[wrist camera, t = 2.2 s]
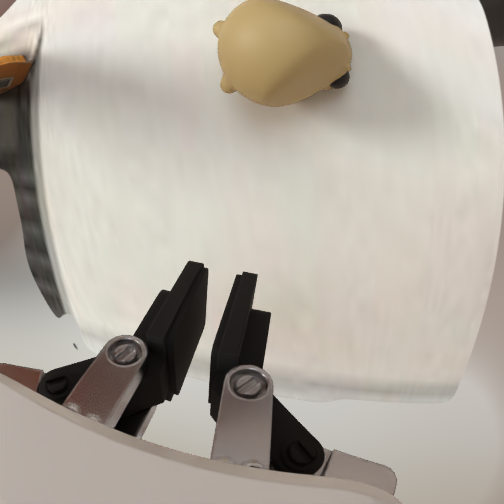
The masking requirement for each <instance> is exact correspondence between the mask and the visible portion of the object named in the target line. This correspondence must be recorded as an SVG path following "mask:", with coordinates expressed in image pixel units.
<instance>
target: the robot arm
mask: <svg viewBox="0 0 504 504" xmlns="http://www.w3.org/2000/svg"><path fill="white" fill-rule="evenodd" d="M257 276H258V274H253V273H248V272H243V274H242V275H238V274H237V275H236V278H235V281H234V284H233V287H232V290H231V293H230V296H229V299H228V302H227V305H226V308H225V311H224V314H223V317H222V320H221V323H220V326H219V328H218V331H217V334H216V337H215V340H214V344H213V348H212V353H211V364H210V381H209V399H208V402H209V403H211V408H210V415H211V416H212V418H213V419H214V421H215V422H216V429H215V435H214V440H213V446H212V452H211V458H210V459H208V458H203V457H200V456H196V455H192V454H188V453H184V452H181V451H177V450H173V449H170V448H167V447H163V446H160V445H157V444H154V443H151V442H148V441H145V440H142V439H141V438H142V436H143V434H144V432H145V430H146V428H147V426H148V424H149V422H150V420H151V418H152V416H153V414H154V412H155V410H156V407H157V405H158V404H160V403H163V402H164V401H165V400H168V401H171V400H172V397H173V395H174V394H176V395H178V394H179V393H180V390H181V387H182V385H183V382H184V379H185V377H186V374H187V372H188V369H189V366H190V364H191V361H192V358H193V356H194V353H195V350H196V348H197V345H198V343H199V340H200V337H201V335H202V332H203V330H204V326H205V320H206V302H207V285H208V268H204V264H203V263H198V262H193V261H188V263H187V264H186V266H185V268H184V269H183V271H182V273H181V274H180V276H179V278H178V279H177V281H176V283H175V284H174V286H173V288H172V290H171V291H166V290H161V292H160V293H159V294H158V296H157V297H156V299H155V301H154V302H153V304H152V306H151V307H150V309H149V310H148V312H147V314H146V315H145V317H144V319H143V320H142V322H141V324H140V325H139V327H138V329H137V330H136V332H135V334H134V335H133V336H131V335H121V336H117V337H114V338H113V339H111V340H110V341H108V342H107V343H106V345H105V346H104V347H103V349H102V350H101V351H100V353H99V354H98V355H97V357H94V358H91V359H88V360H84V361H81V362H77V363H74V364H71V365H68V366H64V367H60V368H57V369H54V370H51V371H49V372H48V373H44V371H43V370H39V369H33V368H27V367H22V366H15V365H11V364H6V363H0V504H402V503H401V502H400V501H399V500H398V499H397V498H396V497H394V493H395V489H396V485H397V478H396V476H395V473H394V472H393V471H392V470H391V468H389V467H387V466H385V465H382V464H378V463H375V462H372V461H368V460H365V459H362V458H358V457H356V456H352V455H349V454H346V453H343V452H341V451H338V450H335V449H334V450H333V451H330V450H327V449H324V448H323V447H322V446H321V444H320V443H319V441H318V440H317V439H315V437H313V436H312V435H311V434H310V433H309V432H308V431H307V429H306V428H305V427H304V426H302V424H301V423H300V422H298V421H297V419H296V418H295V417H294V416H293V415H292V414H291V413H290V412H289V411H288V410H287V409H286V408H285V407H284V406H283V405H282V404H281V403H280V402H279V401H278V399H277V398H276V397H275V396H274V395H273V381H272V379H271V377H270V375H269V374H268V373H267V372H266V371H265V370H263V362H264V356H265V350H266V344H267V337H268V331H269V324H270V318H271V313H270V312H265V311H260V310H255V309H252V304H253V299H254V293H255V287H256V282H257Z"/></svg>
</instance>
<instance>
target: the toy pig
mask: <svg viewBox="0 0 504 504" xmlns="http://www.w3.org/2000/svg"><path fill="white" fill-rule="evenodd" d="M213 32H214V34H215V35H216V37H217V38H218V57H219V61H220V65H221V68H222V70H223V73H224V74H223V77H222V79H221V83H220V86H221V89H222V90H223V91H224V92H225V93H233V92H235V91H238V92H239V93H240V94H241V95H243V96H244V97H246V98H247V99H249V100H251V101H253V102H256V103H258V104H261V105H265V106H270V107H280V106H286V105H290V104H293V103H296V102H299V101H301V100H304V99H306V98H308V97H310V96H311V95H313V94H315V93H317V92H318V91H320V90H321V89H323V90H329V89H332V88H342V87H344V86H345V85H346V84H347V83H348V81H349V71H350V70H351V67H350V63H351V57H352V51H351V46H350V43H349V41H348V37H349V33H347V32H343V31H342V25H341V22H340V21H339V19H338V18H336V17H335V16H334V15H331V14H321V15H318V16H316V15H314V14H312V13H310V12H308V11H306V10H304V9H301V8H299V7H296V6H294V5H291V4H288V3H285V2H282V1H279V0H247V1H245V2H243V3H242V4H240V5H239V6H238V7H236V8H235V9H234V10H233V11H232V12H231V13H230V14H229V16H228V17H227V18H226V20H225V21H218V22H216V23H215V24H214V26H213Z"/></svg>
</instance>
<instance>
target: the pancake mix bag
mask: <svg viewBox="0 0 504 504" xmlns="http://www.w3.org/2000/svg"><path fill="white" fill-rule="evenodd" d="M33 61H34V60H32V61H26V59H25V57H24V56H2V57H0V94H2V93H4V92H6V91H8V90H10V89H12V88H14V87H16V86H18V85H20V84H22V83H23V81H24V80H25V78H26V77H27V75H28V73H29V70H30V68H31V66H32V63H33Z"/></svg>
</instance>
